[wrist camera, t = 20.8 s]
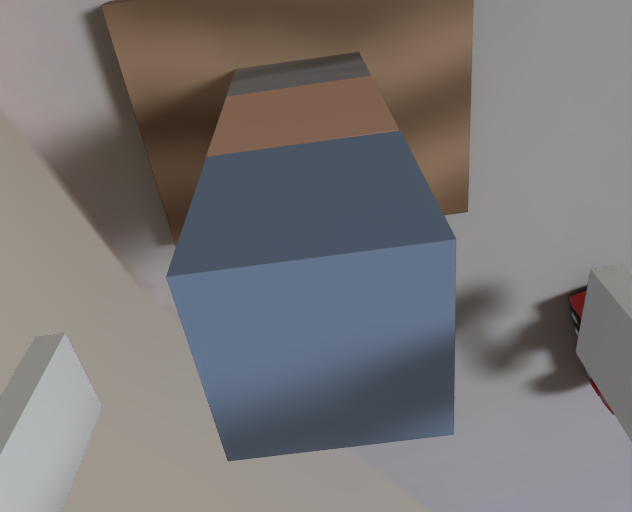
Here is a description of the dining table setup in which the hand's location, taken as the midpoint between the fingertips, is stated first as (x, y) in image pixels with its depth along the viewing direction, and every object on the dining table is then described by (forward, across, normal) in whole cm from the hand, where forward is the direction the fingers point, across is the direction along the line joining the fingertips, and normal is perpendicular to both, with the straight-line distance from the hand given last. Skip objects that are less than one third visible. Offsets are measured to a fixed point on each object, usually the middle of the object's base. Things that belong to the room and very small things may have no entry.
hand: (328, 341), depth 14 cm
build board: (+20, 0, 0) cm, 20 cm away
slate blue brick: (+6, 0, 0) cm, 6 cm away
